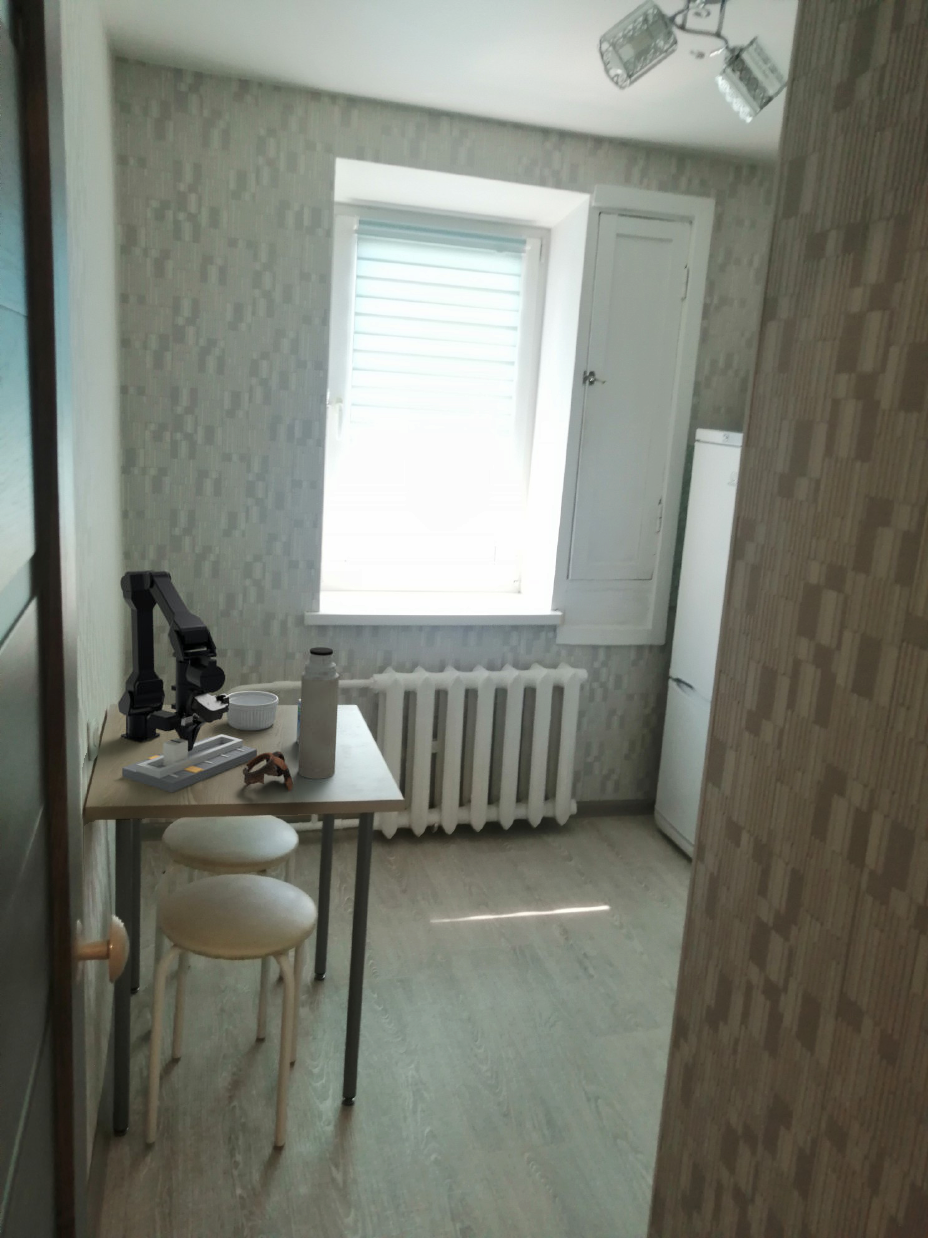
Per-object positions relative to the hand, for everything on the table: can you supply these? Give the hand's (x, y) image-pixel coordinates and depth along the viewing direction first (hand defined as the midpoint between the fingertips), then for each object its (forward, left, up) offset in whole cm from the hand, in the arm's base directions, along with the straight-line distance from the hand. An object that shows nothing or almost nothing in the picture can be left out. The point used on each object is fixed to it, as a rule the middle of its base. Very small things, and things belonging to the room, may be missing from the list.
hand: (188, 750), depth 199 cm
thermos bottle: (+23, +15, -4) cm, 28 cm away
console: (0, +1, -4) cm, 4 cm away
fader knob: (0, -4, -2) cm, 4 cm away
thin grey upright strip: (+13, +28, -4) cm, 31 cm away
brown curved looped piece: (+20, +3, -4) cm, 21 cm away
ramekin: (-10, +32, -4) cm, 34 cm away
